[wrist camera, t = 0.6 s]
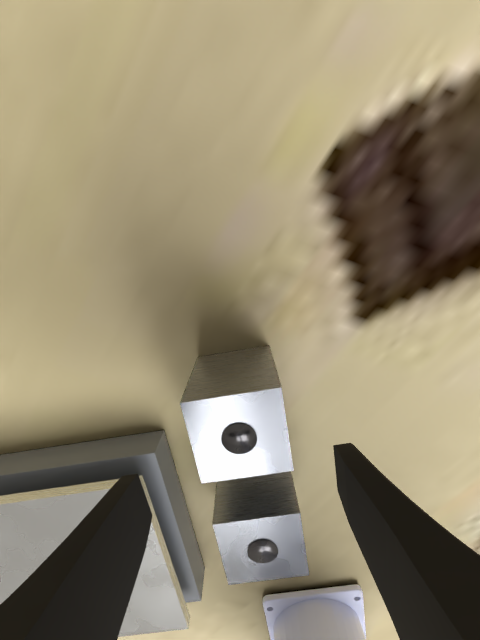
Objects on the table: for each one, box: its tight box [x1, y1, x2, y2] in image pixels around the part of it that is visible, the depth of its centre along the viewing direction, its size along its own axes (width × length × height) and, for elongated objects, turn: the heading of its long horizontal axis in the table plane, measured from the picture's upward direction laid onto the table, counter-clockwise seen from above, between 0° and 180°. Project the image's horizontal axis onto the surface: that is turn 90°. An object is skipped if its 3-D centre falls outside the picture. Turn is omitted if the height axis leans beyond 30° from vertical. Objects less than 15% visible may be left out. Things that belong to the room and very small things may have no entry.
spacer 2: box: [213, 471, 309, 585], centre depth 16 cm, size 4×4×5 cm
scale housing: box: [0, 430, 205, 603], centre depth 18 cm, size 13×19×2 cm
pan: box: [0, 475, 190, 637], centre depth 17 cm, size 12×12×3 cm
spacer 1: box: [180, 346, 294, 484], centre depth 14 cm, size 4×4×5 cm
